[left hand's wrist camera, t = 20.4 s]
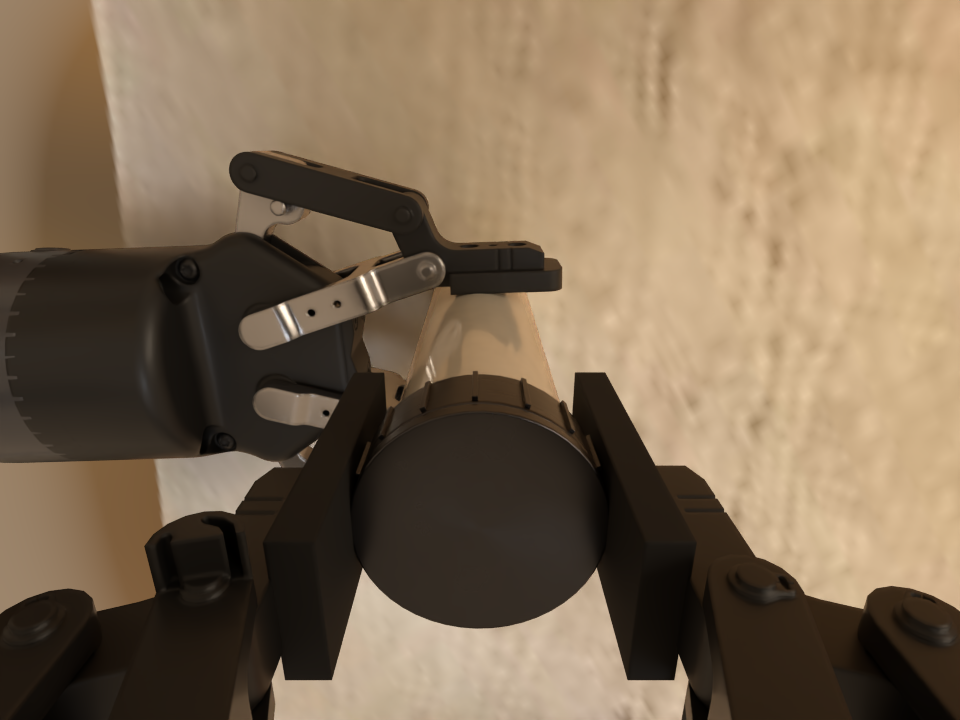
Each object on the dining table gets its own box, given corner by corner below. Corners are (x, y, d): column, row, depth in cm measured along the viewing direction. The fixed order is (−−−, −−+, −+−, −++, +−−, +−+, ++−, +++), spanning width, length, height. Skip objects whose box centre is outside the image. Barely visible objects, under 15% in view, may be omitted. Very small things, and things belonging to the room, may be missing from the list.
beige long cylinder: (528, 252, 26) (596, 410, 11) (521, 340, 28) (573, 587, 12) (435, 248, 26) (372, 401, 11) (433, 336, 28) (376, 580, 12)
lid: (610, 546, 13) (630, 606, 11) (400, 586, 13) (389, 649, 12) (572, 346, 11) (589, 382, 10) (333, 399, 12) (309, 442, 10)
